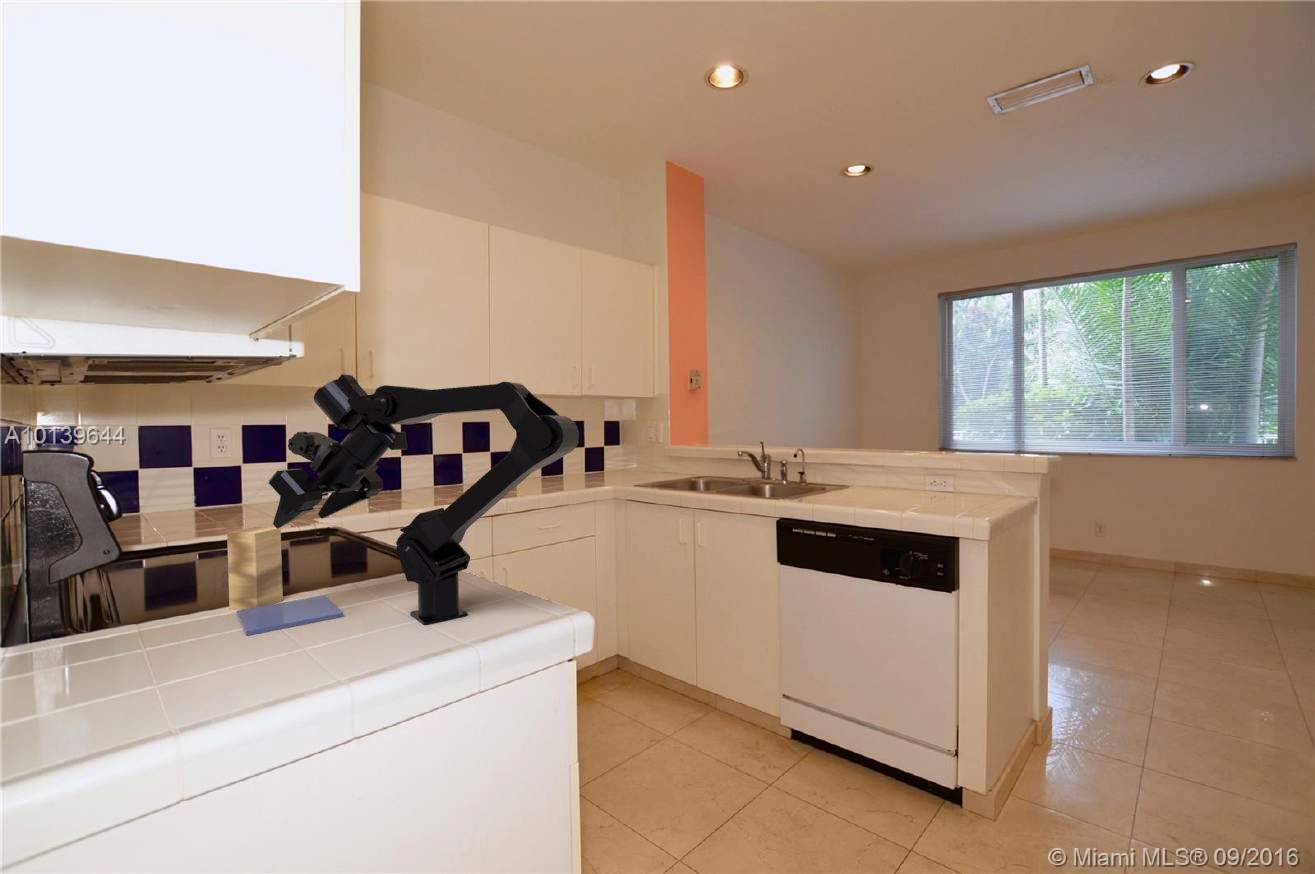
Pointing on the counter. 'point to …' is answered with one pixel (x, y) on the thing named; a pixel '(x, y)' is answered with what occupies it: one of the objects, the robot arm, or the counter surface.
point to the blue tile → (287, 614)
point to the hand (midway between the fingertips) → (299, 521)
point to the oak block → (254, 567)
